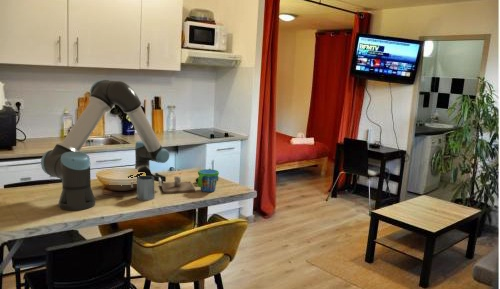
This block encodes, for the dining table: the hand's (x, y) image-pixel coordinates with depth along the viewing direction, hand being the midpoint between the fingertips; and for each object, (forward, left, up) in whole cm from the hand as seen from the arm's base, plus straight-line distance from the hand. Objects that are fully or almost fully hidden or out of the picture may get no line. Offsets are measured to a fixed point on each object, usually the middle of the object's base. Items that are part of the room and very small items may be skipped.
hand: (146, 184), depth 202 cm
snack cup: (+31, +3, -6) cm, 32 cm away
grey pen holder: (-1, -4, -6) cm, 7 cm away
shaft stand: (+16, +9, -6) cm, 20 cm away
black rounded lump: (+33, +19, -6) cm, 38 cm away
